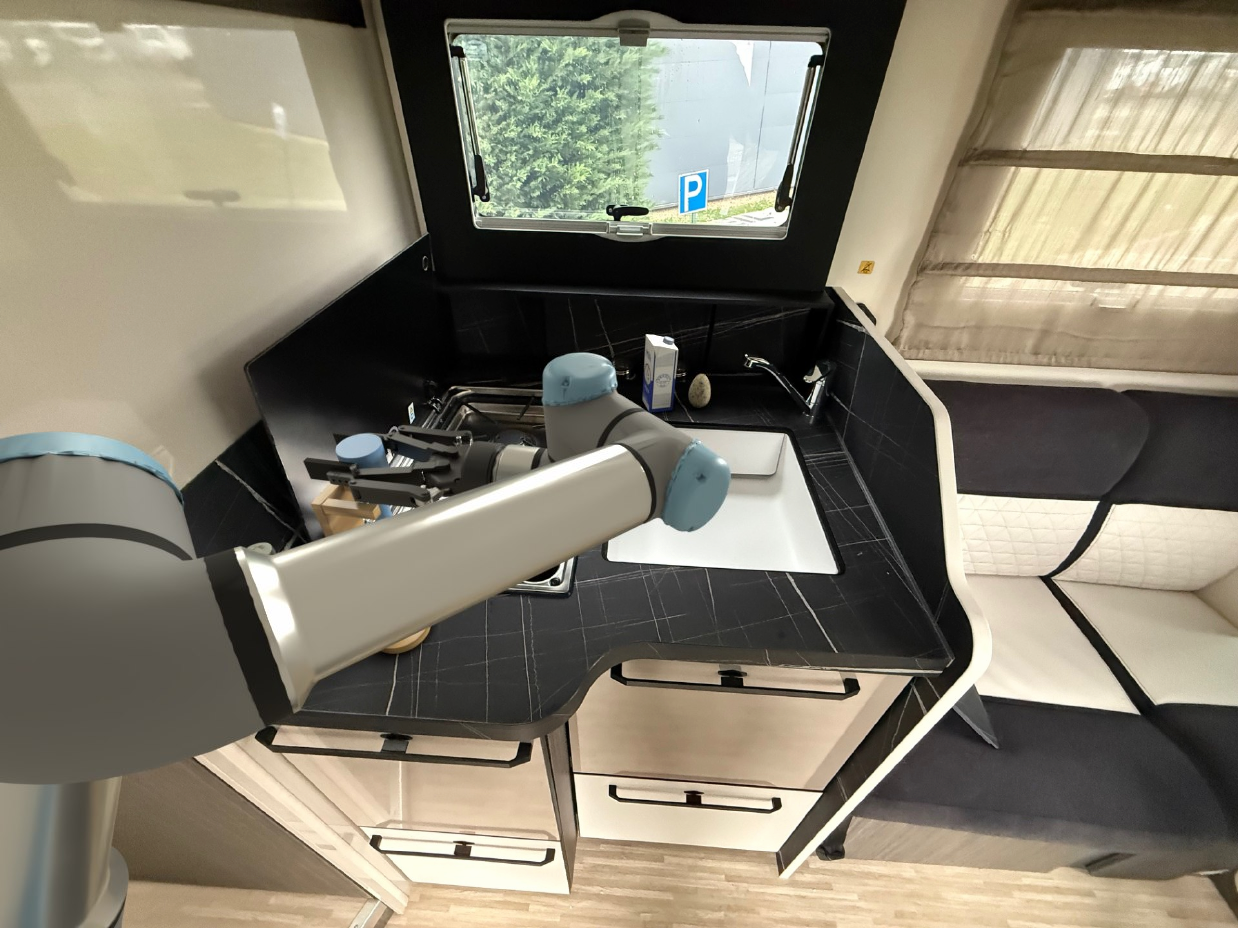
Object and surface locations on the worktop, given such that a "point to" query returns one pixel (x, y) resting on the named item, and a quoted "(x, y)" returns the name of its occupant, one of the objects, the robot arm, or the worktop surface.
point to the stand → (345, 514)
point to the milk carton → (659, 373)
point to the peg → (365, 458)
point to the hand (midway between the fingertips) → (324, 454)
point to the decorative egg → (699, 391)
